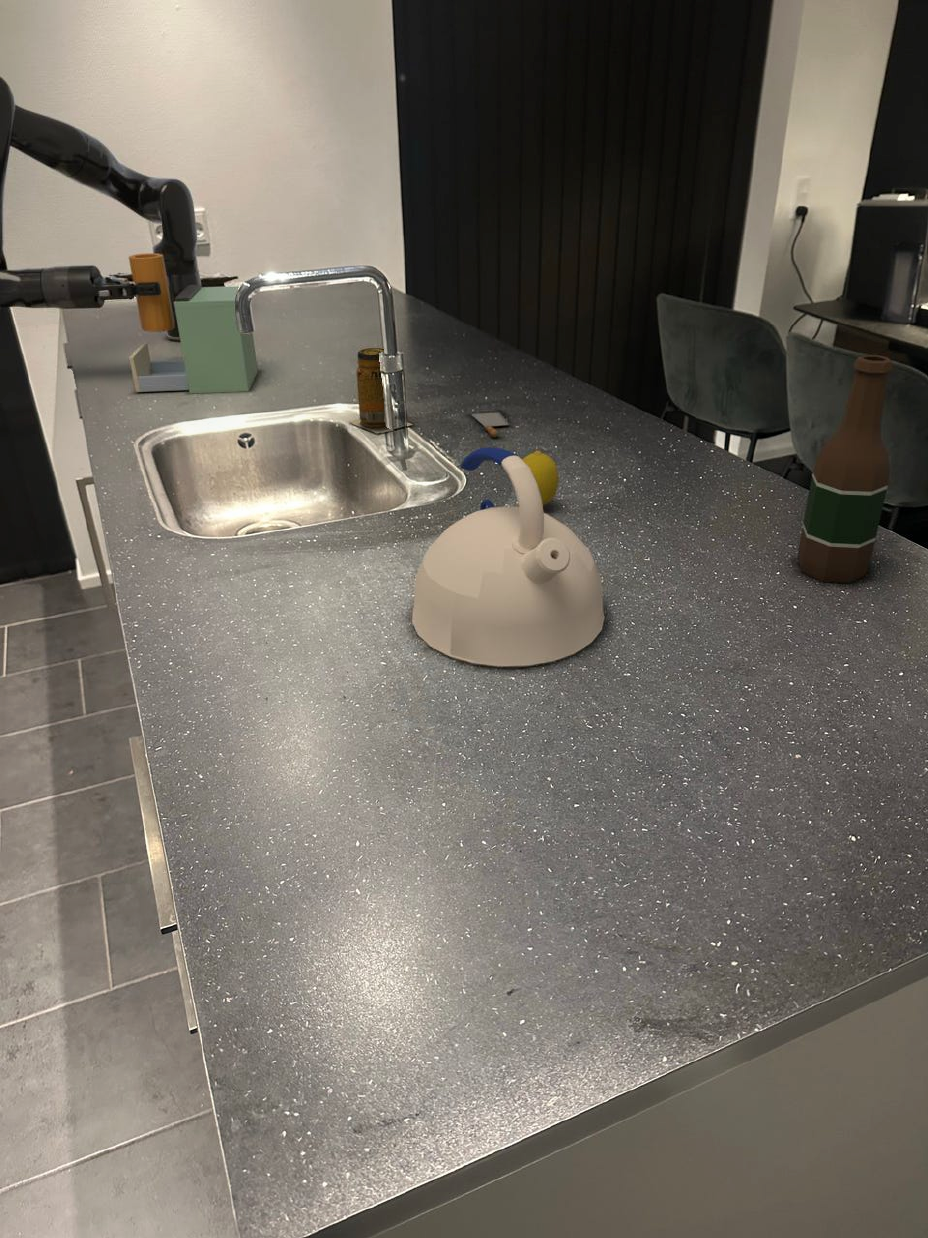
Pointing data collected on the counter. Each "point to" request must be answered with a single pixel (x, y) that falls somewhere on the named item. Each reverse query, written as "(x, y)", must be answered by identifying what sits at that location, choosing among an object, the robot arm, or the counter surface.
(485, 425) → the cleaver
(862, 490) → the beer bottle
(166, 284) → the jar
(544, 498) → the lemon
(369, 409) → the condiment
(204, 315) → the green open box
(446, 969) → the counter surface
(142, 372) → the beige drawer
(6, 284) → the robot arm
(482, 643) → the kettle
